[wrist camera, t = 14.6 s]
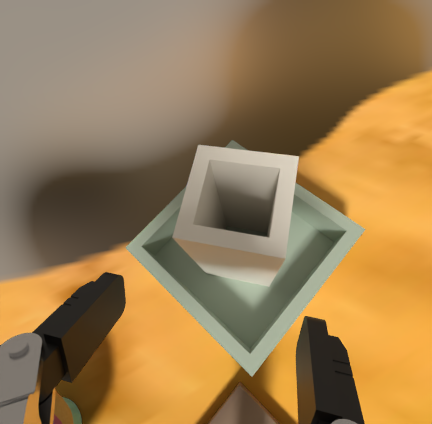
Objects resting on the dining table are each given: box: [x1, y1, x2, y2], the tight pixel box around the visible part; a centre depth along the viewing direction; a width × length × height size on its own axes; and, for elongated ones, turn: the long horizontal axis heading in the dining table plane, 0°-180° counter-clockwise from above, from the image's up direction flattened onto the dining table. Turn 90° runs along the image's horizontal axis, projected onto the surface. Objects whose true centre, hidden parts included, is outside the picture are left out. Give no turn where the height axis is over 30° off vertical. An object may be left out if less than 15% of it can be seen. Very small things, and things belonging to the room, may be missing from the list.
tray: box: [126, 140, 365, 377], centre depth 25 cm, size 14×14×4 cm
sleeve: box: [172, 145, 299, 287], centre depth 20 cm, size 6×6×12 cm
